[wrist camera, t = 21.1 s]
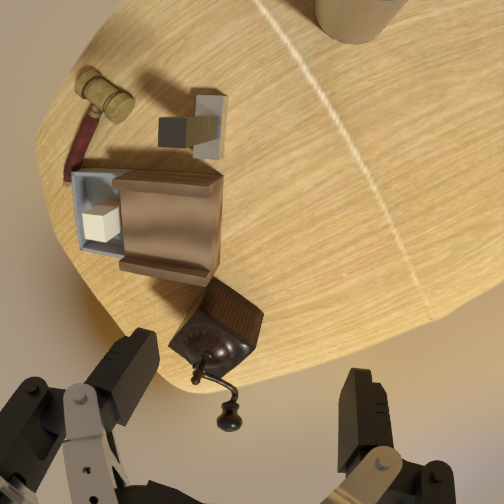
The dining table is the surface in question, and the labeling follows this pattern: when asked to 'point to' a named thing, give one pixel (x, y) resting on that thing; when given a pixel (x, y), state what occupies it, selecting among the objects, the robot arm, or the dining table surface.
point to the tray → (90, 194)
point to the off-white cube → (101, 223)
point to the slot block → (171, 224)
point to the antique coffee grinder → (219, 341)
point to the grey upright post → (198, 128)
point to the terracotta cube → (113, 204)
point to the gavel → (95, 114)
